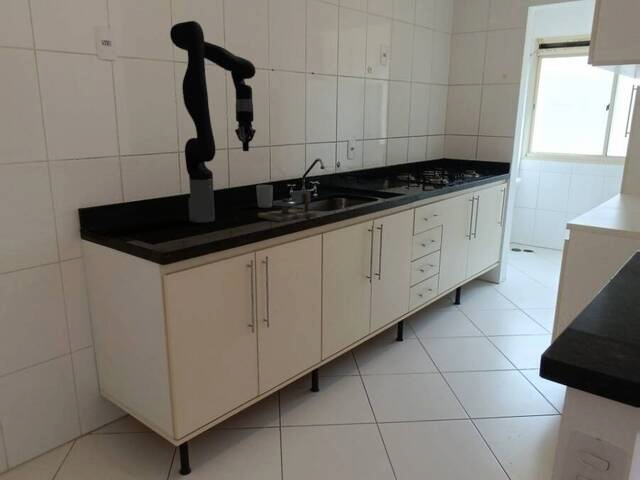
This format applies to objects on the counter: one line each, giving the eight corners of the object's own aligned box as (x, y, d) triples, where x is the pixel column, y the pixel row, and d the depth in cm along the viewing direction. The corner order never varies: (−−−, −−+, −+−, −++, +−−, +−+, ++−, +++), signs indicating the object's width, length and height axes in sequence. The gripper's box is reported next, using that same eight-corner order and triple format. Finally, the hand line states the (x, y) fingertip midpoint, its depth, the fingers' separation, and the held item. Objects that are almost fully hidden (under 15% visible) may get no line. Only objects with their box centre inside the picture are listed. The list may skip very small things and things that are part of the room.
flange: (282, 207, 203) (282, 195, 202) (268, 204, 210) (268, 192, 209) (316, 202, 214) (316, 191, 213) (301, 200, 222) (301, 189, 221)
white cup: (261, 208, 232) (261, 187, 230) (253, 206, 239) (253, 185, 236) (276, 206, 237) (275, 186, 235) (268, 204, 243) (267, 184, 241)
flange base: (279, 221, 201) (279, 199, 198) (257, 216, 211) (257, 196, 209) (316, 215, 214) (316, 195, 212) (294, 211, 224) (293, 191, 222)
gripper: (228, 110, 216) (230, 150, 220) (245, 110, 207) (247, 152, 211) (243, 110, 221) (244, 150, 225) (260, 110, 212) (261, 151, 216)
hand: (245, 151), depth 218 cm, fingers closed
